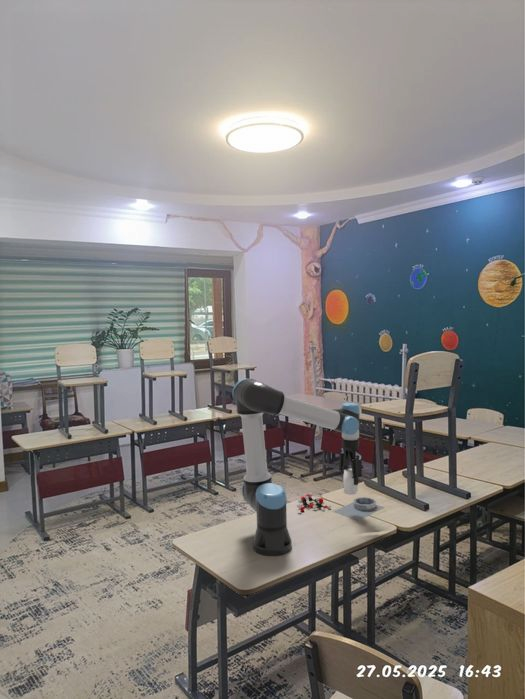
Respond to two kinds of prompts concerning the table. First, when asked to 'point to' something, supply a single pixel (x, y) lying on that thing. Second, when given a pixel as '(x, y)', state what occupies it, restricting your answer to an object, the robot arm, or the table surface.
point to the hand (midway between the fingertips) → (350, 489)
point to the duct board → (356, 511)
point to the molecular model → (308, 497)
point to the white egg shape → (348, 482)
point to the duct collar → (362, 507)
